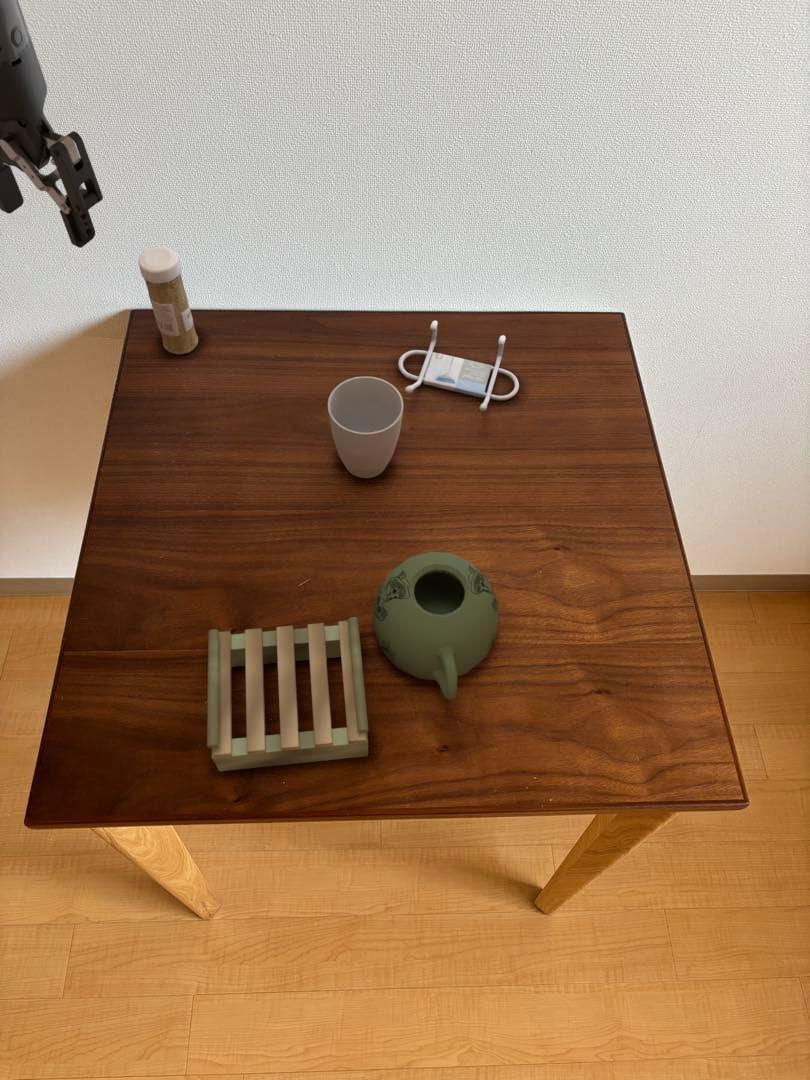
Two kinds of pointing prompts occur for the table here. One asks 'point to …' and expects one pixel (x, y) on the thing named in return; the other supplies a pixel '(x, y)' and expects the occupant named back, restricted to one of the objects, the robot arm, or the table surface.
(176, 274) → the sprinkles bottle
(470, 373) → the wall mount rack
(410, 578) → the olive green ceramic pot
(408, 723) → the table surface
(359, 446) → the cup
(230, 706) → the drying rack
